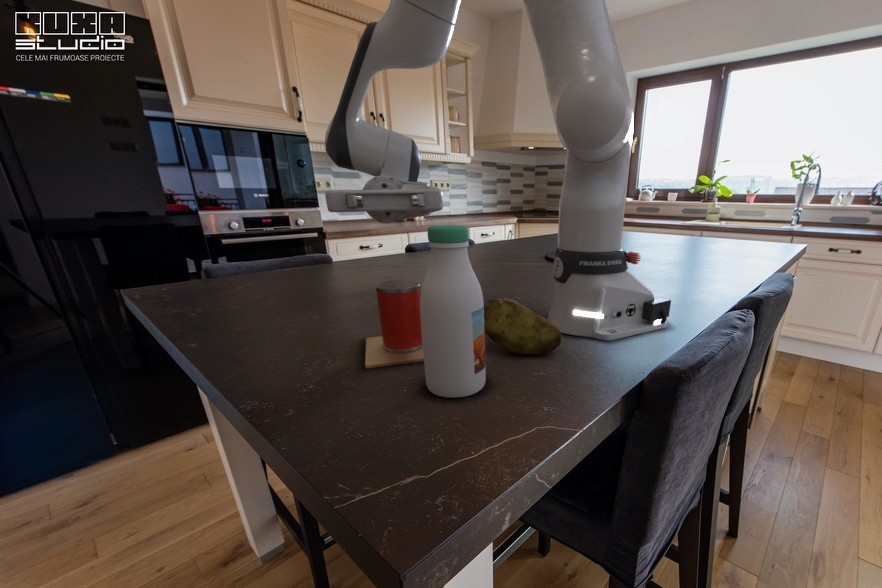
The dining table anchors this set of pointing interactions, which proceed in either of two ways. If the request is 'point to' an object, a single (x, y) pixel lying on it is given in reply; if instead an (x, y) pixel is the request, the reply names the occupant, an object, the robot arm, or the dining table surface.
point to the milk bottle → (452, 316)
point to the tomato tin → (400, 315)
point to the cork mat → (387, 355)
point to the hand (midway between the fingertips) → (387, 200)
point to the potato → (519, 328)
